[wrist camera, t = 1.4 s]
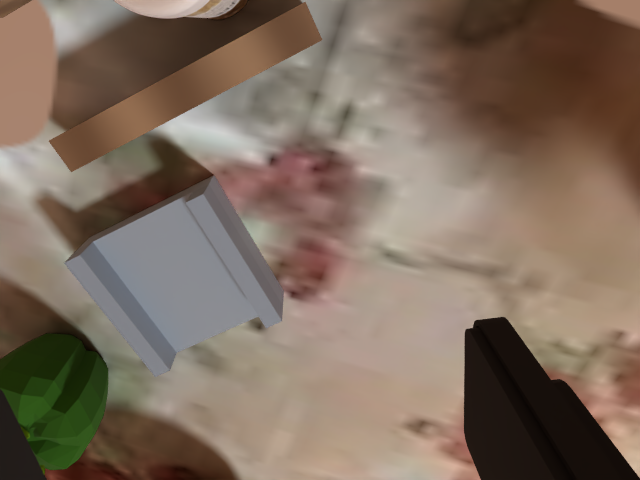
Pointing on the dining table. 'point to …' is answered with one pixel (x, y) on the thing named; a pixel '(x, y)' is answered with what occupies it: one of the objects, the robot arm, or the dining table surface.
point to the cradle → (178, 274)
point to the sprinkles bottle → (184, 8)
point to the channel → (183, 85)
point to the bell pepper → (55, 396)
